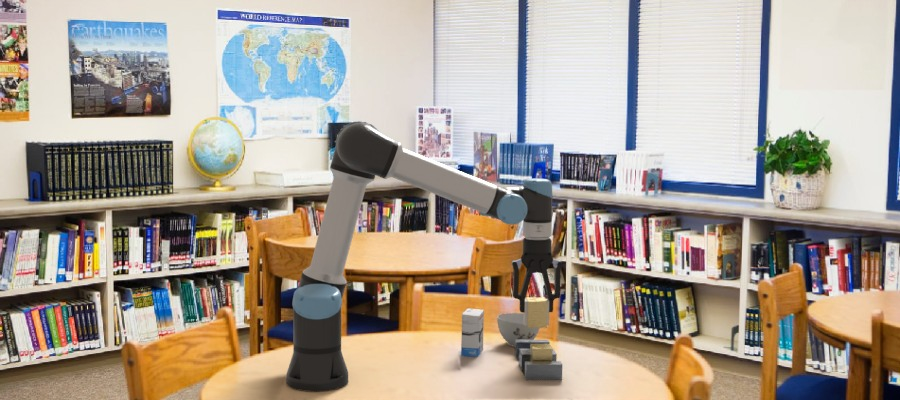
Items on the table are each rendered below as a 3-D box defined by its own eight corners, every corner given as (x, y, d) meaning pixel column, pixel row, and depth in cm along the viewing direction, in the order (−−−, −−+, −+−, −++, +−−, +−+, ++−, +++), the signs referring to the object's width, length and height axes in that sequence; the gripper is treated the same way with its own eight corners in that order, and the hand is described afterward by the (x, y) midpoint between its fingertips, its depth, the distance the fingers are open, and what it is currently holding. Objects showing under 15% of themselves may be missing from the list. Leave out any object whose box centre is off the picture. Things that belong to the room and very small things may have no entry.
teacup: (542, 350, 275) (543, 322, 274) (497, 350, 275) (498, 322, 274) (537, 336, 290) (538, 310, 289) (495, 336, 290) (495, 309, 289)
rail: (526, 382, 246) (526, 364, 245) (514, 355, 270) (515, 339, 269) (561, 382, 246) (562, 364, 246) (547, 355, 270) (548, 339, 270)
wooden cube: (532, 376, 250) (532, 348, 249) (529, 370, 254) (530, 343, 254) (551, 376, 250) (552, 348, 249) (548, 370, 255) (549, 343, 254)
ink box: (478, 358, 267) (479, 315, 265) (460, 357, 268) (461, 314, 266) (483, 350, 275) (484, 308, 273) (466, 349, 276) (466, 307, 274)
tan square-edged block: (525, 323, 265) (525, 297, 264) (544, 323, 265) (544, 297, 265) (527, 327, 260) (528, 301, 259) (546, 327, 260) (547, 301, 260)
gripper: (504, 240, 256) (503, 328, 259) (573, 239, 257) (572, 327, 260) (501, 235, 263) (500, 321, 266) (569, 235, 264) (567, 320, 267)
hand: (536, 324), depth 263 cm, fingers closed on tan square-edged block, 5 cm apart
